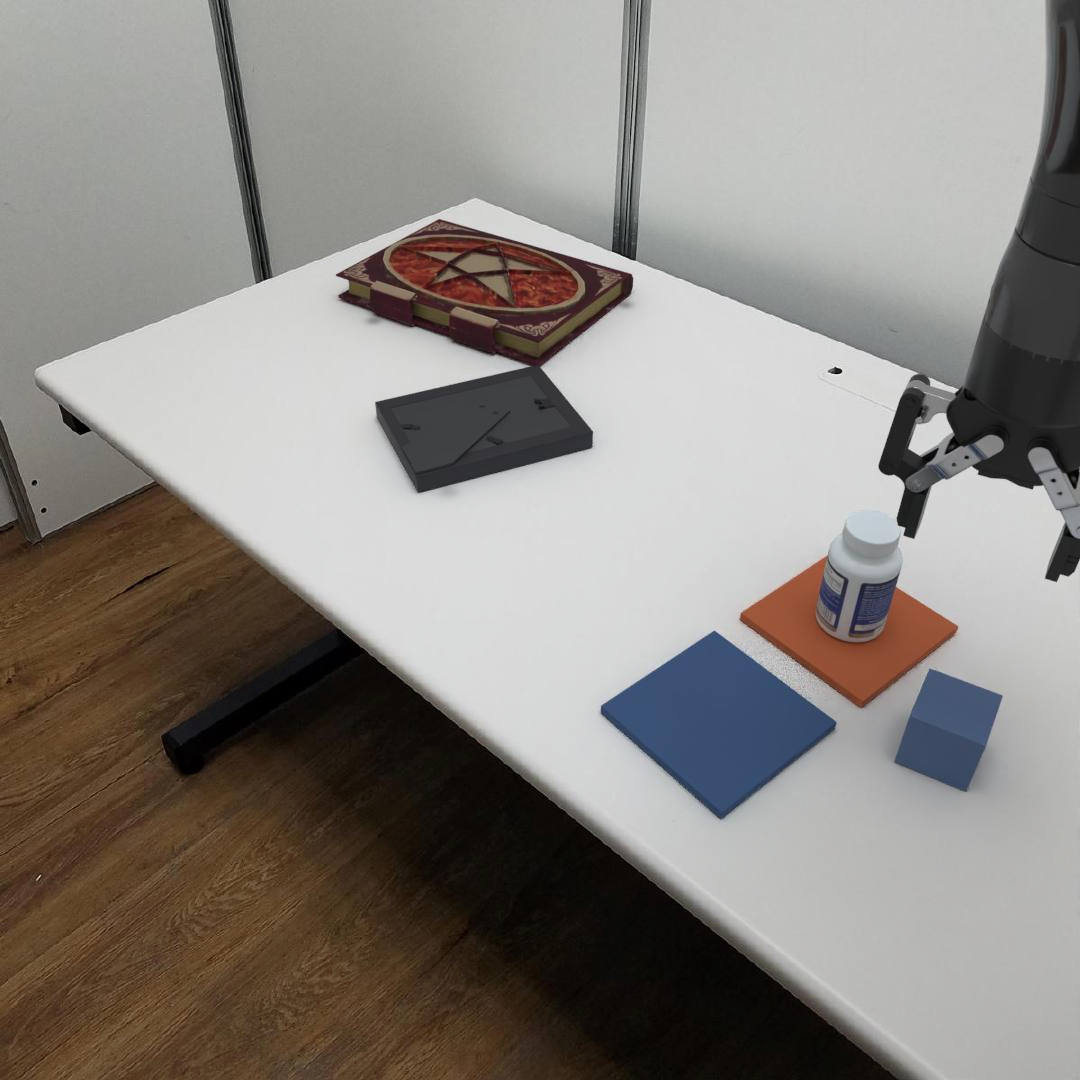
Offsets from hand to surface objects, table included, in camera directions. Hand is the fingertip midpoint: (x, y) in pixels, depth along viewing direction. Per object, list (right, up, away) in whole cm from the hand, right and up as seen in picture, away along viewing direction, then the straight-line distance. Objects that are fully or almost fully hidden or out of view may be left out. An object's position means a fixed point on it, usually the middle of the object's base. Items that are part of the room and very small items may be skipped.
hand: (980, 551), depth 67 cm
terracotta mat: (-3, -6, +18) cm, 19 cm away
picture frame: (-33, +11, +39) cm, 52 cm away
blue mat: (-15, -12, +11) cm, 22 cm away
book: (-34, +29, +60) cm, 75 cm away
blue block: (+1, -14, +9) cm, 17 cm away
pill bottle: (-3, -6, +18) cm, 19 cm away
